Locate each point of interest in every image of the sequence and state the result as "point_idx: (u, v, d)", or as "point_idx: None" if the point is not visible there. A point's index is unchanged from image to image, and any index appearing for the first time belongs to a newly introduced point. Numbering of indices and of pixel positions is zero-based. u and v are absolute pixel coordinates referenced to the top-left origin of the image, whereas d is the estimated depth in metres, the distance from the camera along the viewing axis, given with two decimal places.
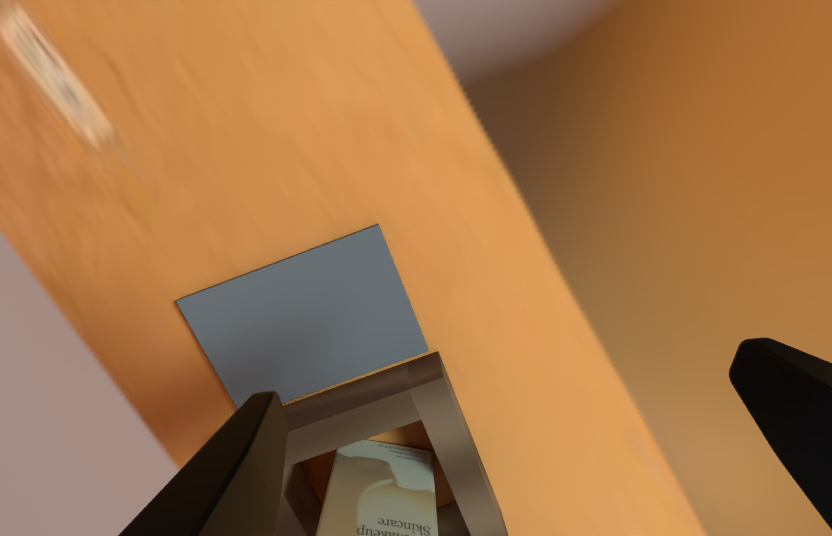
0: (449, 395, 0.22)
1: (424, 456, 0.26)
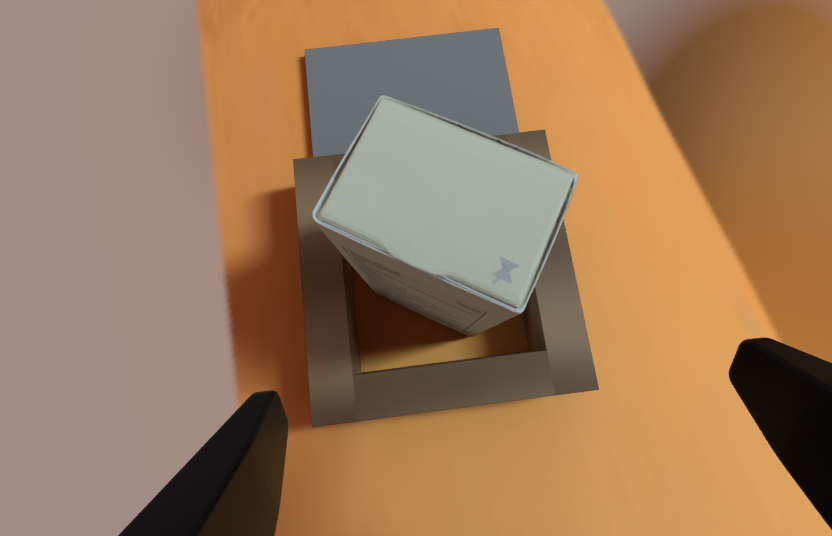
0: (547, 150, 0.21)
1: None
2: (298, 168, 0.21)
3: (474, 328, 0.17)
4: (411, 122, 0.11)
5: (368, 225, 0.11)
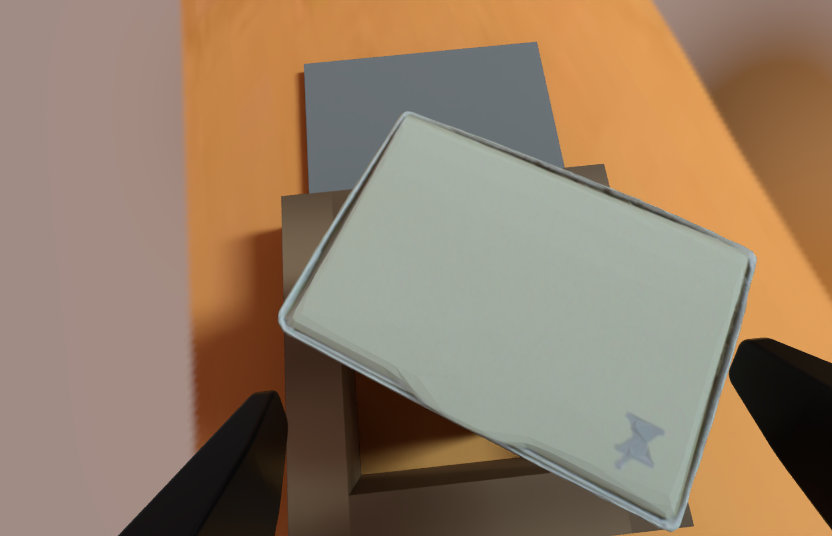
0: None
1: None
2: (287, 207, 0.16)
3: None
4: (455, 156, 0.07)
5: (378, 341, 0.06)
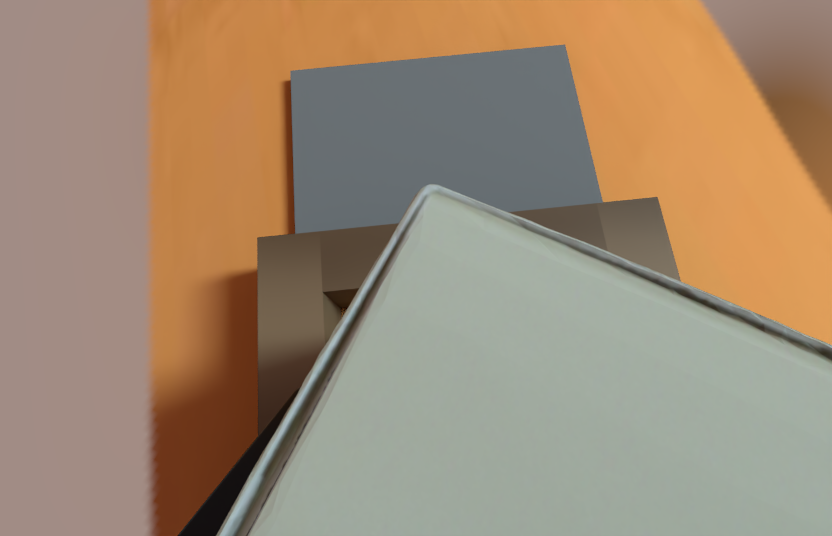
0: (663, 231, 0.13)
1: None
2: (265, 252, 0.13)
3: None
4: (526, 278, 0.03)
5: None
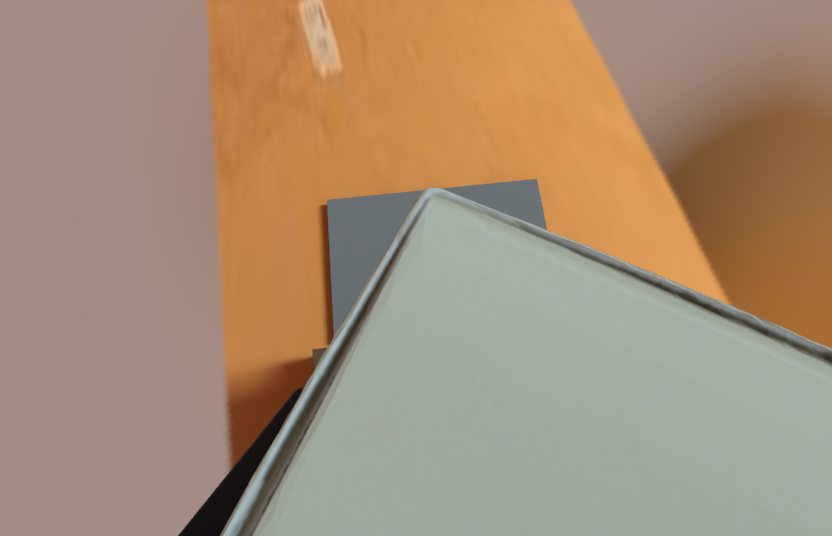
0: None
1: None
2: (318, 360, 0.19)
3: None
4: (528, 282, 0.03)
5: None
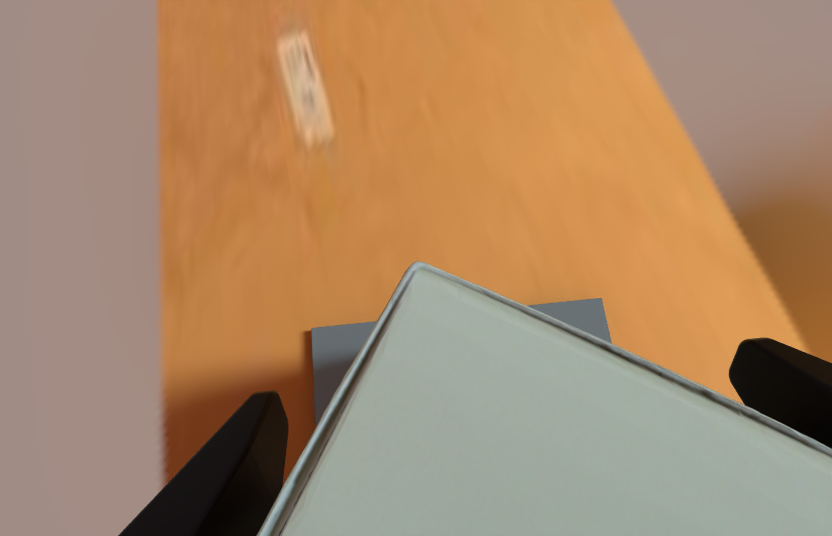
0: None
1: None
2: None
3: None
4: (487, 337, 0.05)
5: None
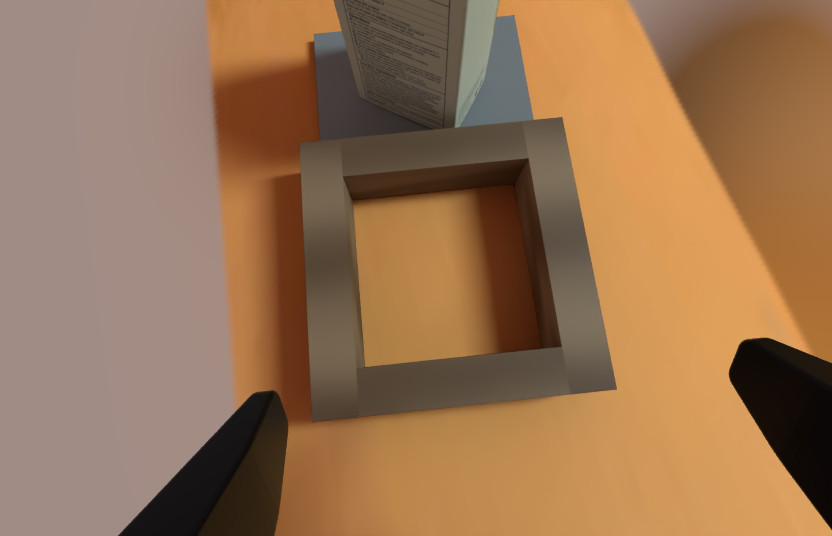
0: (564, 139, 0.20)
1: None
2: (304, 152, 0.20)
3: (450, 76, 0.18)
4: None
5: None
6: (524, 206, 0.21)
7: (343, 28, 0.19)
